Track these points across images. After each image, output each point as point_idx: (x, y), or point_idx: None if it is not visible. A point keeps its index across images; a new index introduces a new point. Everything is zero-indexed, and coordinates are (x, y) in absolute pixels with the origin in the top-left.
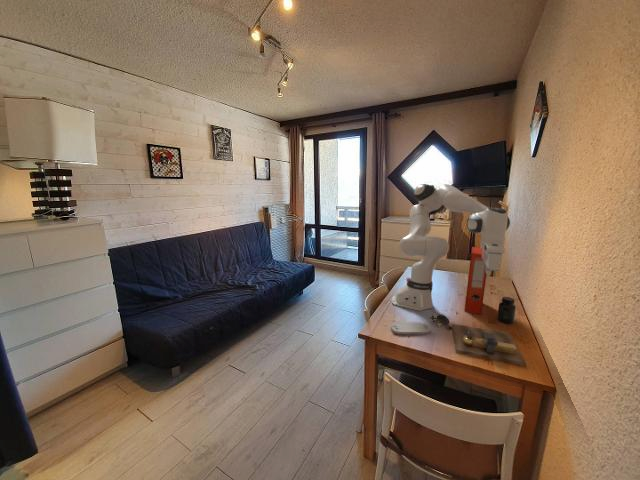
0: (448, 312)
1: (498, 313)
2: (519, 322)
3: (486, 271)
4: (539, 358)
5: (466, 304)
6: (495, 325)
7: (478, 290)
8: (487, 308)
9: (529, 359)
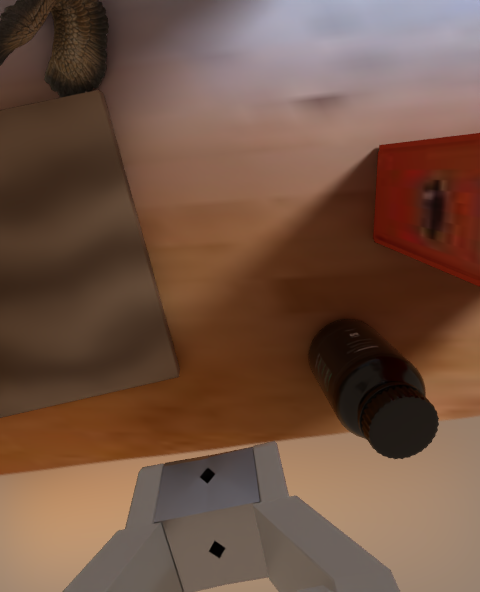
0: (306, 46)
1: (345, 336)
2: None
3: (134, 512)
4: (48, 465)
5: (399, 151)
6: (265, 313)
7: (468, 234)
8: None
9: (11, 436)
